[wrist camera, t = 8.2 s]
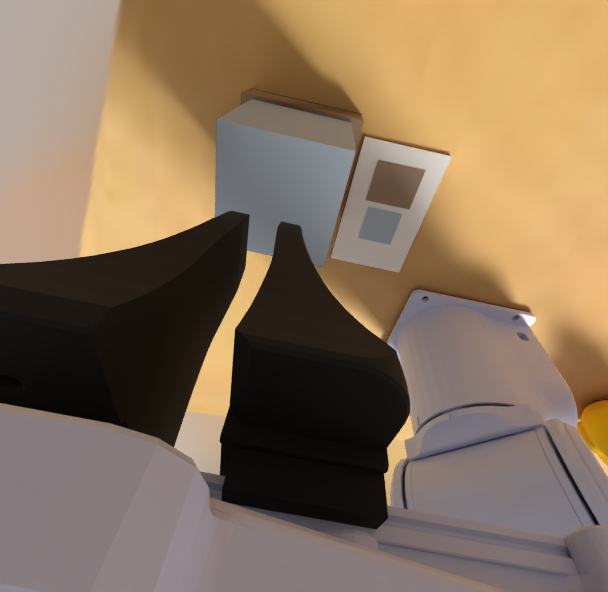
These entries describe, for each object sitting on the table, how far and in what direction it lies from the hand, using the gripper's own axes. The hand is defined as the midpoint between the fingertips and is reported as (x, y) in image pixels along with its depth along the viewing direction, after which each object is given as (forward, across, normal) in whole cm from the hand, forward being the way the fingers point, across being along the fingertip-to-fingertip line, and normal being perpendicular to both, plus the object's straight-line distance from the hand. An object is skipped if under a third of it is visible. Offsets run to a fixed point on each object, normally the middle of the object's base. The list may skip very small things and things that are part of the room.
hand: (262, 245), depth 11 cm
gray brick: (+8, 0, 0) cm, 8 cm away
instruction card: (+10, -6, +2) cm, 12 cm away
